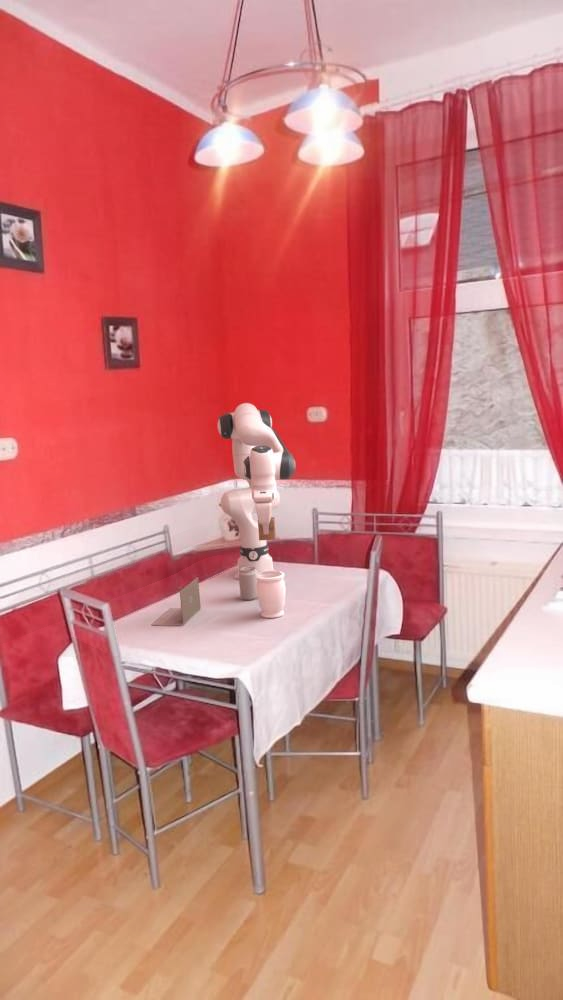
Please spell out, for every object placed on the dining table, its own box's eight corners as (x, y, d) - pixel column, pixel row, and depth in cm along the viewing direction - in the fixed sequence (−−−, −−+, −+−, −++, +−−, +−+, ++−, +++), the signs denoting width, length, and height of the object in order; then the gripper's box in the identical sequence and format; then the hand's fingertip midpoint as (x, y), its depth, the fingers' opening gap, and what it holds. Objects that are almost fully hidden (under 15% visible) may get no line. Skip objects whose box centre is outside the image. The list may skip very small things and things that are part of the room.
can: (257, 601, 274) (255, 570, 272) (238, 601, 275) (236, 571, 273) (261, 595, 281) (259, 565, 279) (243, 595, 282) (241, 565, 280)
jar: (284, 619, 251) (281, 578, 248) (255, 619, 253) (252, 578, 250) (289, 609, 261) (286, 570, 258) (261, 610, 263) (258, 570, 260)
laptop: (170, 610, 271) (166, 576, 268) (201, 610, 268) (198, 576, 265) (150, 626, 253) (147, 591, 251) (184, 627, 250) (180, 591, 248)
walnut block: (260, 536, 255) (259, 517, 254) (275, 536, 255) (274, 516, 253) (259, 540, 250) (257, 520, 248) (274, 539, 249) (273, 519, 248)
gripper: (257, 488, 260) (260, 526, 262) (253, 498, 240) (255, 538, 242) (275, 487, 259) (277, 525, 262) (271, 497, 239) (274, 537, 242)
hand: (267, 531), depth 252 cm, fingers closed on walnut block, 5 cm apart
